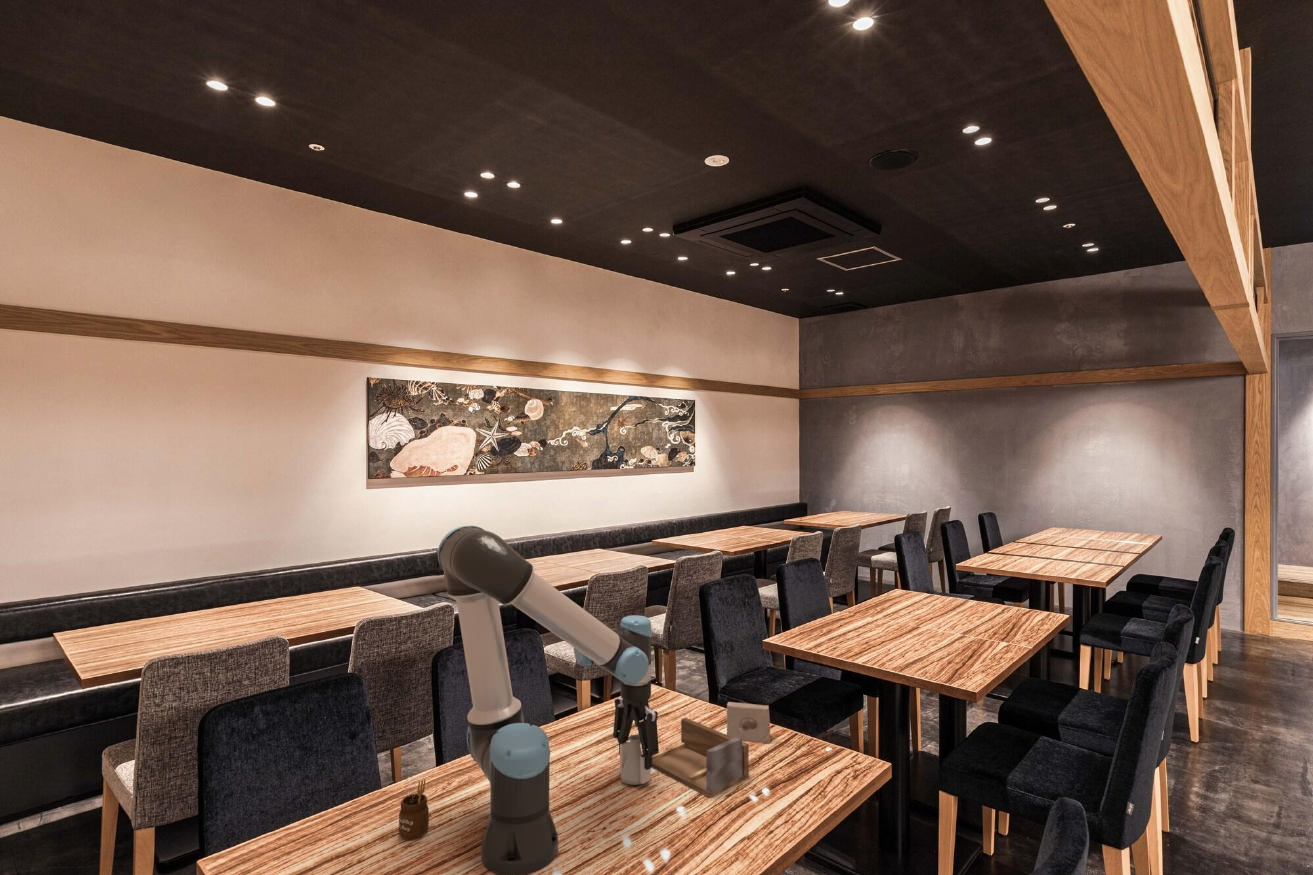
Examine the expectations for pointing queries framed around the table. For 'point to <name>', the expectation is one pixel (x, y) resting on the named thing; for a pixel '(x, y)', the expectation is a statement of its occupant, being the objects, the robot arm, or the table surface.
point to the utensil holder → (414, 814)
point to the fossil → (748, 722)
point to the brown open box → (704, 759)
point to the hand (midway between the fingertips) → (635, 775)
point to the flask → (632, 762)
